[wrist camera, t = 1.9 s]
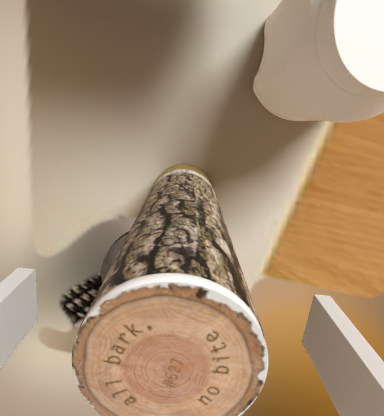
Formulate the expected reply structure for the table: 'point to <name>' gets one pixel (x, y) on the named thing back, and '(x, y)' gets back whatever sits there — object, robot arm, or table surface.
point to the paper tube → (173, 314)
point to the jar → (323, 60)
